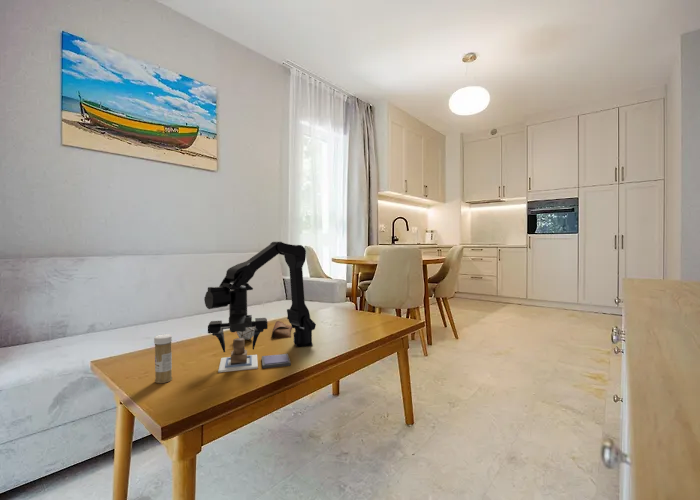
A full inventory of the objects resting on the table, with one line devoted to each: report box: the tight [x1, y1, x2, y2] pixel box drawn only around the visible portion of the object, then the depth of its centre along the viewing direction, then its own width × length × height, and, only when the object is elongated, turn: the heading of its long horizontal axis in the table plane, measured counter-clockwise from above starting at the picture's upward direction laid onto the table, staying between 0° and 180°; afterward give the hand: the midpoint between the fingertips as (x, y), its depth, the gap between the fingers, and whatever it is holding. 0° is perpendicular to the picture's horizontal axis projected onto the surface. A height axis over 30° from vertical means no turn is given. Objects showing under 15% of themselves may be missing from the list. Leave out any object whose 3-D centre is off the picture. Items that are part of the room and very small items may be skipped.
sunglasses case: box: [271, 320, 293, 339], centre depth 153 cm, size 18×7×7 cm
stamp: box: [230, 337, 248, 365], centre depth 115 cm, size 5×5×8 cm
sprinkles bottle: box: [153, 333, 173, 384], centre depth 101 cm, size 5×5×13 cm
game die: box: [236, 327, 254, 342], centre depth 141 cm, size 9×8×10 cm
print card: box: [217, 354, 259, 373], centre depth 115 cm, size 12×12×1 cm
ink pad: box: [261, 353, 292, 369], centre depth 116 cm, size 9×9×1 cm
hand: (238, 350), depth 115 cm, fingers open, 9 cm apart
